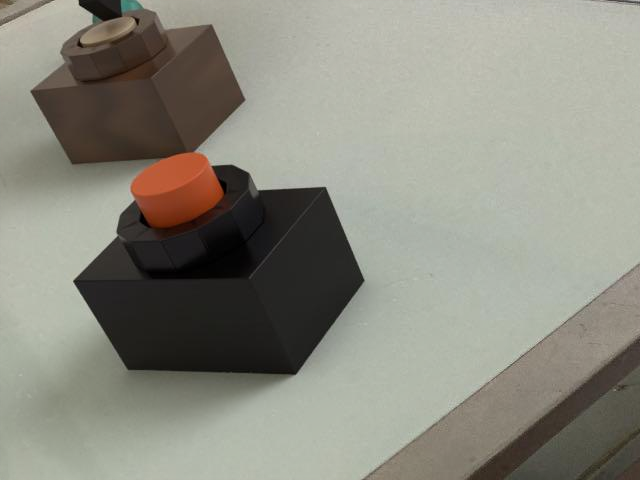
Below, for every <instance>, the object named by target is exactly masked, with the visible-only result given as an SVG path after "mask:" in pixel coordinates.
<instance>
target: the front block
mask: <svg viewBox="0 0 640 480" xmlns="http://www.w3.org/2000/svg"><path fill="white" fill-rule="evenodd" d="M211 167H212V169H213V171H214V173H215V175H216V177H217V179H218V181H219V183H220V185H221V187H222V189H223V192H224V196H223V197H222V198H221V200H220V201H219V202H218V203H217V204H216V205H215V206H214V207H213V208H211V209H210V210H208V211H206V212H205V213H203V214H201V215H199V216H198V217H196V218H194V219H193V220H191V221H188V222H185V223H181V224H178V225H175V226H172V227H167V228H151V227H150V226H149V224H148V222H147V221H146V219H145V217H144V215H143V213H142V211H141V210H140V208H139V206H138V204H137V202H136V200H135V199H134V200H133V201H132V202H131V203H130V204H129V205H128V206H126V208H125V209H124V210H123V211H122V212H121V213H120V214H119V217H118V221H117V226H116V230H115V232H116V233H115V234H116V235H117V236H116V237H115V238H114V239H113V240H112V241H111V242H110V243H108V245H107V246H106V247H105V248H104V249H102V250H101V252H100V253H99V254H98V255H97V256H96V257H95V258H94V259H93V260H92V261H90V263H89V264H88V265H87V266H86V267H85V268H83V270H82V271H81V272H80V273H79V274H78V275H77V276H76V277H75V278H74V279H73V280H72V283H73V285H74V286H75V287H76V289H77V291H78V292H79V294H80V295H81V297H82V299H83V300H84V302H85V303H86V306H87V307H88V308H89V310H90V312H91V313H92V315H93V316H94V318H95V320H96V322H97V323H98V325H99V326H100V328H101V329H102V331H103V332H104V335H105V336H106V338H107V339H108V340H109V342H110V344H111V346H112V347H113V348H114V350H115V352H116V353H117V355H118V357H119V358H120V360H121V361H122V363H123V365H124V366H125V368H126V370H128V371H154V370H155V371H159V372H191V373H192V372H193V373H222V372H225V374H255V375H257V374H258V375H259V374H260V375H291V376H292V375H294V376H295V375H298V373H299V372H300V370H301V369H302V367H303V366H304V365H305V363H306V362H307V361H308V359H309V358H310V357H311V355H312V354H313V352H314V351H315V350H316V348H317V347H318V346H319V345H320V343H321V341H322V340H323V339H324V337H325V336H326V334H327V333H328V332H329V330H330V329H331V328H332V327H333V325H334V324H335V322H336V321H337V319H338V318H339V317H340V316H341V314H342V313H343V311H344V310H345V309H346V307H347V306H348V305H349V303H350V302H351V300H352V299H353V298H354V296H355V295H356V293H357V292H358V291H359V289H360V288H361V287H362V285H363V284H364V282H365V277H364V275H363V272H362V270H361V269H360V266H359V263H358V261H357V258H356V256H355V253H354V251H353V248H352V246H351V244H350V242H349V239H348V237H347V234H346V232H345V229H344V227H343V225H342V222H341V220H340V218H339V214H338V213H337V210H336V208H335V206H334V203H333V200H332V198H331V195H330V193H329V190H328V189H327V187H326V186H311V187H293V188H273V189H258V188H257V186H256V184H255V181H254V179H253V177H252V175H251V173H250V172H248V171H246V170H245V169H244V168H243V169H242V168H241V167H238V166H237V165H234V164H231V163H230V164H218V165H217V164H216V165H215V164H214V165H211ZM229 372H230V373H229ZM231 372H232V373H231Z"/></svg>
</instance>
